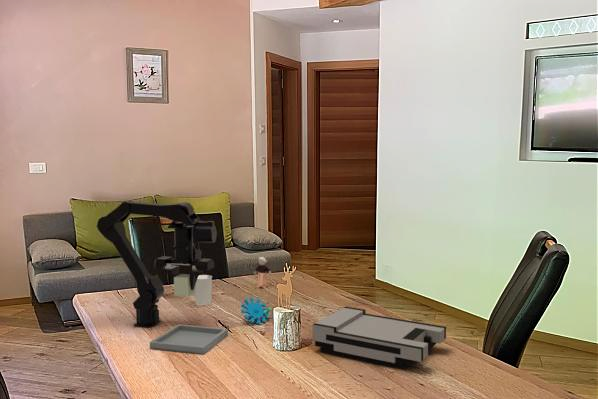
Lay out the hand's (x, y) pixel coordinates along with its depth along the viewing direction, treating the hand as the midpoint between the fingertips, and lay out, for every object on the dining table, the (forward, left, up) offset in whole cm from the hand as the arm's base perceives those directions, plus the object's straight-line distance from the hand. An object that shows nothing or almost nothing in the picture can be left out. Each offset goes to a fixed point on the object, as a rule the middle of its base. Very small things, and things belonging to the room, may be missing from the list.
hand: (185, 289), depth 187 cm
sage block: (0, 0, -2) cm, 2 cm away
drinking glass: (-6, +25, -12) cm, 28 cm away
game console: (+64, -5, -12) cm, 65 cm away
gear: (+20, +10, -12) cm, 26 cm away
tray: (+8, -14, -12) cm, 20 cm away
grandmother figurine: (+7, +53, -12) cm, 55 cm away
